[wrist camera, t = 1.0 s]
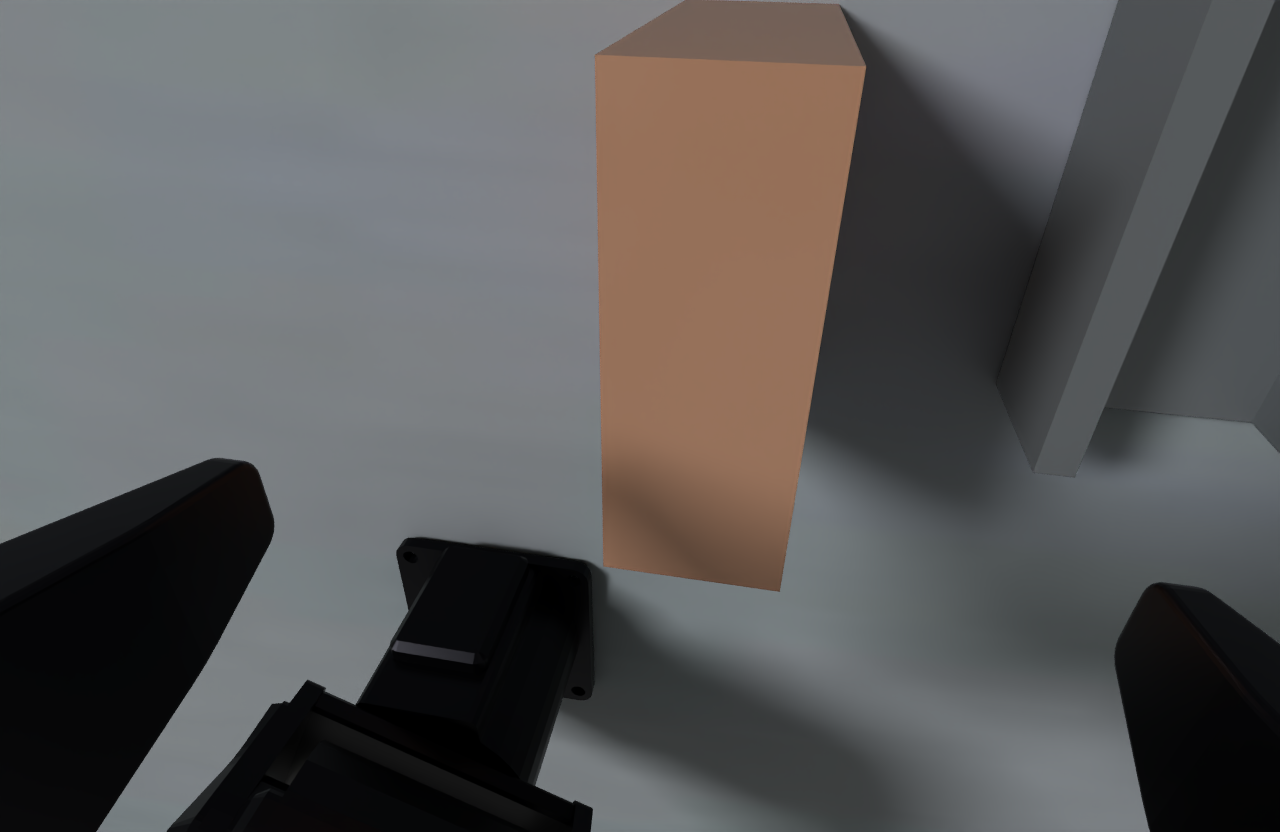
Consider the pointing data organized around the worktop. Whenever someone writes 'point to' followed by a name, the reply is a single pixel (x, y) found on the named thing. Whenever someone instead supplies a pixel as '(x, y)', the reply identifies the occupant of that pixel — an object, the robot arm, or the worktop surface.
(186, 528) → the robot arm
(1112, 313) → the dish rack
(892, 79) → the worktop surface
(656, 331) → the tall tan upright block
